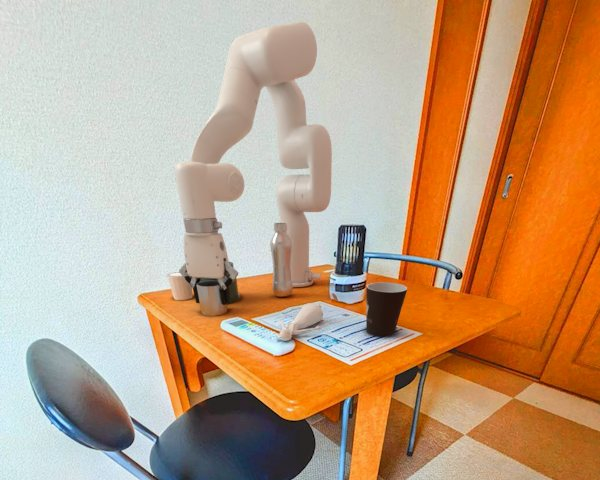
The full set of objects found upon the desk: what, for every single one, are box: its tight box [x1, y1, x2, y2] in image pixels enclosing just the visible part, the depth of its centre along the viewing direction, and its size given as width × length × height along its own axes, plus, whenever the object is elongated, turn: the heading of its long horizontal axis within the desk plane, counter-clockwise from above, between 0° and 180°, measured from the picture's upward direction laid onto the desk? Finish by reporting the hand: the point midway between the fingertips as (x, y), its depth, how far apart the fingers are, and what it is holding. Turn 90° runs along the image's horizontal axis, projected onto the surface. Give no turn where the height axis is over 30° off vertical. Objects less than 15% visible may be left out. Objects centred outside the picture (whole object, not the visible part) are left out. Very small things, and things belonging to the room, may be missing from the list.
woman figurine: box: [277, 302, 324, 342], centre depth 73 cm, size 12×4×18 cm
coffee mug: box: [365, 281, 408, 338], centre depth 71 cm, size 12×9×10 cm
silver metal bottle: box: [269, 222, 294, 298], centre depth 92 cm, size 6×7×20 cm
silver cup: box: [197, 280, 228, 317], centre depth 83 cm, size 7×7×8 cm
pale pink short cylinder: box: [166, 271, 194, 301], centre depth 95 cm, size 7×7×7 cm
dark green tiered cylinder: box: [200, 261, 241, 305], centre depth 93 cm, size 12×12×10 cm
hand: (212, 302), depth 84 cm, fingers closed on silver cup, 6 cm apart
